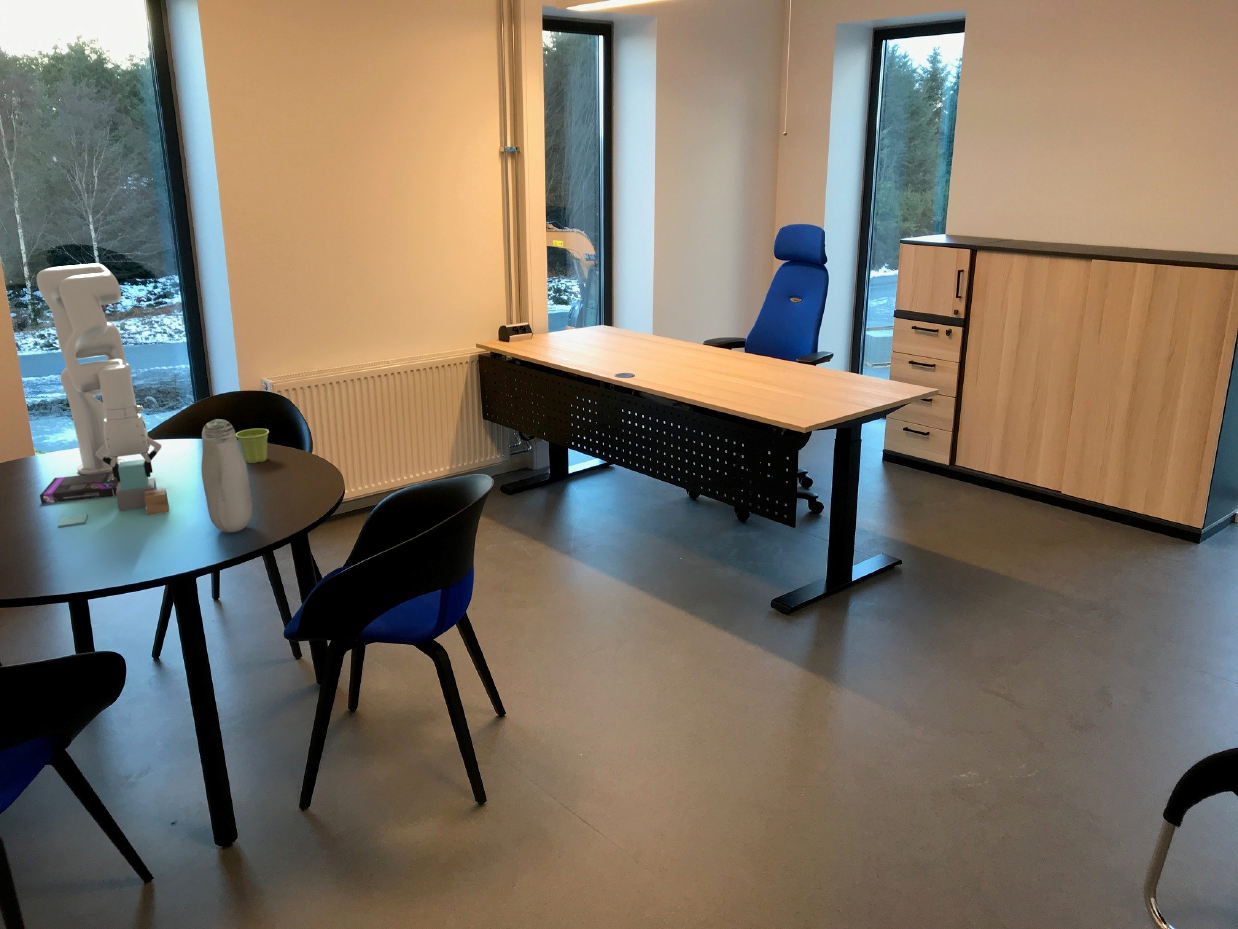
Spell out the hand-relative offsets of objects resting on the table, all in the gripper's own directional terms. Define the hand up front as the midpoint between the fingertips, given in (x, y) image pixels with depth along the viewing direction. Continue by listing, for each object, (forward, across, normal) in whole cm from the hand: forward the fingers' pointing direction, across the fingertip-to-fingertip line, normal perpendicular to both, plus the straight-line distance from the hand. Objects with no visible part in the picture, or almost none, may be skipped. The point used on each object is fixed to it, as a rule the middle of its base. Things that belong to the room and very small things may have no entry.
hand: (134, 477), depth 263 cm
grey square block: (+7, 0, 0) cm, 7 cm away
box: (+8, +14, -17) cm, 23 cm away
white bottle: (+7, -23, +32) cm, 40 cm away
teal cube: (+2, 0, 0) cm, 2 cm away
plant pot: (+8, -31, -25) cm, 40 cm away
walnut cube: (+7, -5, +9) cm, 12 cm away
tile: (+7, +15, +8) cm, 18 cm away
